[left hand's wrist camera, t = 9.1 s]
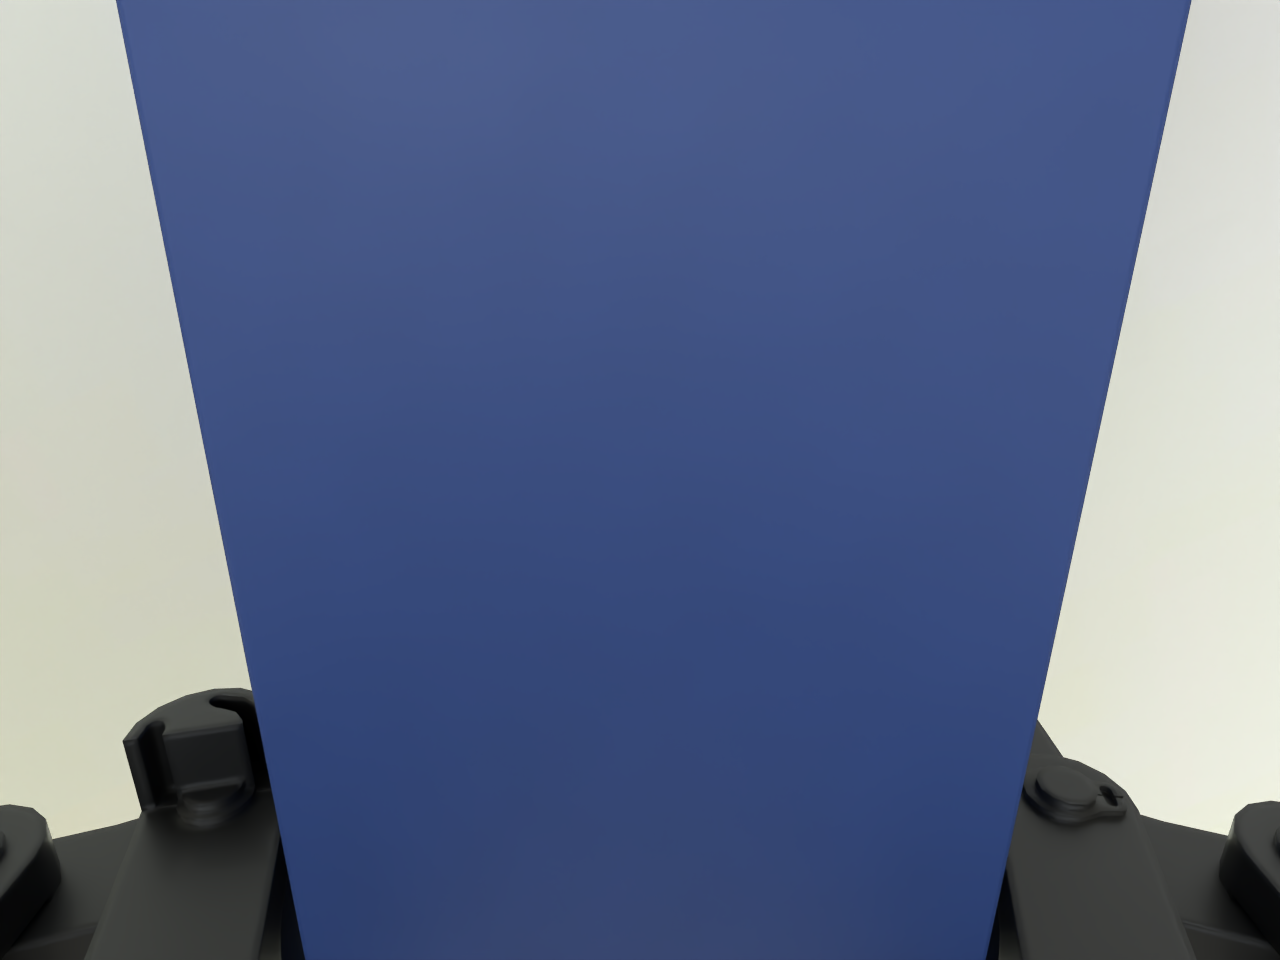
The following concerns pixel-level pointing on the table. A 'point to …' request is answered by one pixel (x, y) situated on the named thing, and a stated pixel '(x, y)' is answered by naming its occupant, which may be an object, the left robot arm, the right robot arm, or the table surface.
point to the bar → (649, 443)
